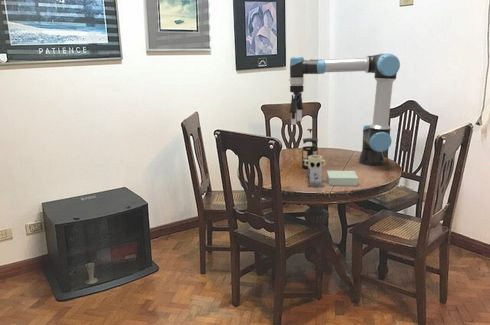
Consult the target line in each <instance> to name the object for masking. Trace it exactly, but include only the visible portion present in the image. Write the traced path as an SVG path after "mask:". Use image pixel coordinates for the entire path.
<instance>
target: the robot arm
mask: <svg viewBox="0 0 490 325" xmlns="http://www.w3.org/2000/svg"><path fill="white" fill-rule="evenodd" d="M400 67H401V63H400V59H399V57H397V56H396V55H394V54H393V53H378V54H374V55H366V56H365V57H354V58H353V57H352V58H326V59H309V60H307V59H306V60H305V59H304V56H292V57H290V60H289V80H288V81H289V84H290V86H289V92H290V93H293V94H291V101H290V110H289V113H290V115H291V117H290V125H294V126H295V125H297V122H302V120H303V119H302V118H303V117H302V116H303V115H302V114H303V110H304V107H303V97H302V96H303V95H302V94H303V92H304V87H305V86H304V83H305V82H304V81H305V80H304V79H305V78H304V75H323V74H325V73H346V72H348V73H350V72H351V73H353V72H365V73H366V74H367V73H368V74H374V75H373V76H374V77H373V78H374V81H376V84H375V95H374V106H373V116H372V117H373V118H372V124H369V125H368V124H366V125H363V130H362V146H361V147H362V148H361V151H360V155H359V157H358V163H359V164H362V165H365V166H366V165H367V166H382V165H384V164H385V157H384V156H385V155H384V153H383V152H385V151H387V150H389V148H390V147H391V145H392V137H391V128H392V127H391V126H390V125H389V123H390V122H389V119H390V113H391V112H390V110H391V104H392V103H391V102H392V93H393V85H394V82H395V81H396V79H397V75H398V74H397V73H398V72H399V71H400Z"/></svg>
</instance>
